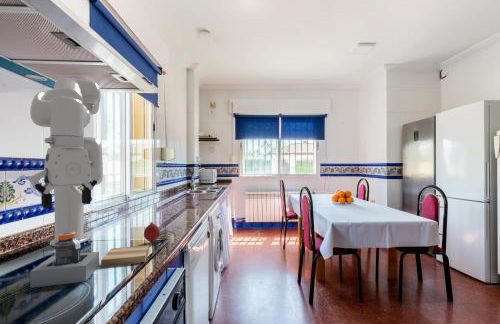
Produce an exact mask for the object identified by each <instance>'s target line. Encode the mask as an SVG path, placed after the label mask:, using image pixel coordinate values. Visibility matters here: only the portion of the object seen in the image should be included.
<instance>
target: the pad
mask: <svg viewBox="0 0 500 324" xmlns="http://www.w3.org/2000/svg"><path fill="white" fill-rule="evenodd" d="M149 253H150V244H148V245H147V244H146V245H136V246H126V247H125V246H123V247H113V248H110V249H109V250H108V251H107V253H106V254H105V255H104V256H103V257H102V258H101V259H100V263H101V264H100V267H101V268H105V267H106V266H107V267H114V266H115V267H116V266H124V265H125V264H126V265H133V264H135V265H136V264H142V263H141V262H145V263H146V262H147V259H146V258H148V256H149ZM147 255H148V256H147ZM123 264H124V265H123Z"/></svg>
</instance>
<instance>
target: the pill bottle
mask: <svg viewBox="0 0 500 324" xmlns="http://www.w3.org/2000/svg"><path fill="white" fill-rule="evenodd" d="M58 240H59V241H58V242H57V243H56V244H55V245H54V246H53V256H54V266H59V265H69V264H79V263H80V262H81V261H80V253H81V243H80V241H79V240H77V239H76V232H66V233H61V234H59V235H58Z"/></svg>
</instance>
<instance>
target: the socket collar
mask: <svg viewBox="0 0 500 324" xmlns="http://www.w3.org/2000/svg"><path fill="white" fill-rule="evenodd" d="M80 261H81V262H80V263H79V264H69V265H59V266H54V255H52V256H50V257H49V258H48V259H46V260H44V261H43V262H41V263H40V264H38V265H37V266H36V267H34V268H33V269H31V270H30V274H29V275H30V279H29V280H30V283H29V284H30V286H29V287H30V288H40V287H48V286H50V287H51V286H58V285H65V284H73V283H83V282H87V281H88V280H89V278H90V277H91V276H92V274H94V272H95V271H96V270H97V268H98V267H99V266H100V251H92V252H90V251H89V252H80Z"/></svg>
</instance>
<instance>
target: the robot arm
mask: <svg viewBox="0 0 500 324" xmlns="http://www.w3.org/2000/svg"><path fill="white" fill-rule="evenodd" d="M101 96H102V94H101V89H100V86H99V85H98V83H97V82H95V81H93V80H88V79H80V78H76V77H75V78H73V77H60V78H59V79H57V80H56V81H55V83H54V85H53V88H52V89H49V90H43V91H40V92H38V93H36V94H35V95H34V96H33V99H32V101H31V105H30V109H29V110H30V112H29V113H30V119H31V121H32V122H33V123H34V124H35V125H36V126H38V127H44V128H50V130H49V131H50V132H49V133H50V136H49V137H45V138H44V144H48V145H49V147H47V151H46V153H45V159H44V164H43V165H44V168H43V170H41V171H39V172H36V173H35V174H33V175H30V176H29V177H28V181H29V183H30V184H31V185H32V188H34V189H35V190H36V191H37V192H39V194H40V196H41V206H42V209H45V210H52V209H53V196H54V239H52V240H50V241H49V246H51V247H54V245H55V244H56V243H57V242H58V241H59V240H58V235H59V234H61V233H66V232H76V239H77V240H79V241H80V244H82V243H85V242H87V241H88V240H89V237H88V236H87V235H84V205H90V204H91V201H92V190H93V189H94V187H95V186H98V185H100V184H101V183H102V182H103V179H104V167H103V164H104V163H103V148H102V143H101V141H100V140H99V138H97V137H92V136H91V137H90V136H84V135H85V134H84V132H85V131H84V130H85V128H86V127H87V126H88V125H89V124H90V122H91V115H92V116H93V115H96V114H97V113H98V112H99V109H100V104H101V98H102V97H101ZM42 178H43V182H44V184H41V183H40V179H42ZM76 187H82V188H83V189H82V190H81V192H80V191H79V190H78V189H77V188H76ZM52 190H53V193H54V194H52V193H51V191H52Z"/></svg>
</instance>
